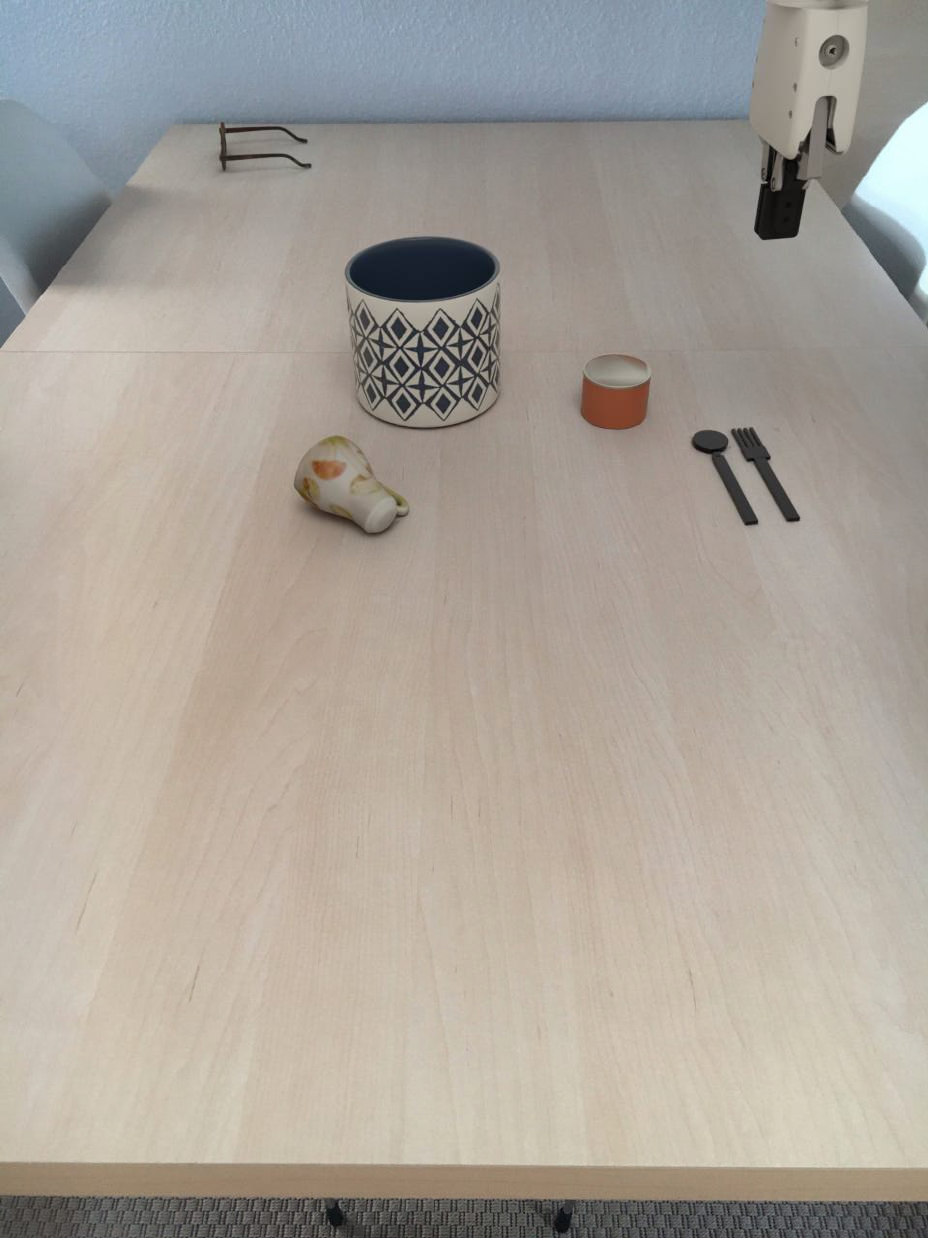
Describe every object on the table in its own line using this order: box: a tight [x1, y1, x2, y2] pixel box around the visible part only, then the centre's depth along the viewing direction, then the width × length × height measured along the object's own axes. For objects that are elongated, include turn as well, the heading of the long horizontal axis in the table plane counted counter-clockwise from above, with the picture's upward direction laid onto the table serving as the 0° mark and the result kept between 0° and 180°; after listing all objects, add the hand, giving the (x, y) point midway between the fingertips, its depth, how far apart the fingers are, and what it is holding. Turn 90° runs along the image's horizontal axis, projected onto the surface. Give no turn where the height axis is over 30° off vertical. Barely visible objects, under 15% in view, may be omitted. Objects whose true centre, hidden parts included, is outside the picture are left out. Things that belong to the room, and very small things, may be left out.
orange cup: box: [580, 352, 653, 430], centre depth 105 cm, size 7×7×5 cm
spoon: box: [691, 429, 759, 526], centre depth 97 cm, size 15×4×1 cm, turn 6°
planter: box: [343, 235, 502, 429], centre depth 105 cm, size 16×16×14 cm
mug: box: [293, 435, 410, 534], centre depth 92 cm, size 8×10×10 cm
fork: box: [730, 426, 801, 522], centre depth 97 cm, size 16×2×1 cm, turn 6°
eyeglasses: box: [218, 121, 312, 171], centre depth 166 cm, size 15×15×5 cm
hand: (775, 234), depth 82 cm, fingers closed
